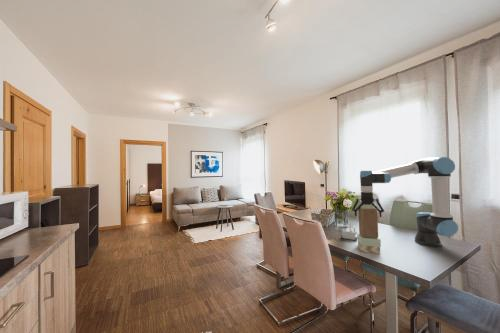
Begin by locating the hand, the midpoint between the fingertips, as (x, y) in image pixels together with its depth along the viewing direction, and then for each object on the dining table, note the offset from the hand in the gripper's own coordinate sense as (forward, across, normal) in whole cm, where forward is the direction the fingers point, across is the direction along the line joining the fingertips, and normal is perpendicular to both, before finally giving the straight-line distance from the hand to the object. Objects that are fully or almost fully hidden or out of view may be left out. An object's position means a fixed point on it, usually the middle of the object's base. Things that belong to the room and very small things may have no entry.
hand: (368, 221), depth 146 cm
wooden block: (+11, 0, 0) cm, 11 cm away
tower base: (+21, 0, 0) cm, 21 cm away
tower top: (+16, 0, 0) cm, 16 cm away
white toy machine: (+21, +10, -26) cm, 34 cm away
